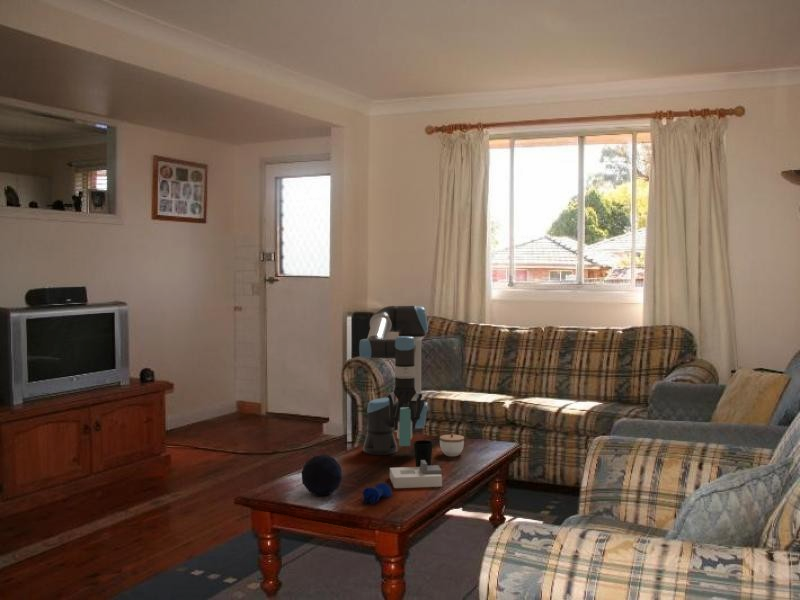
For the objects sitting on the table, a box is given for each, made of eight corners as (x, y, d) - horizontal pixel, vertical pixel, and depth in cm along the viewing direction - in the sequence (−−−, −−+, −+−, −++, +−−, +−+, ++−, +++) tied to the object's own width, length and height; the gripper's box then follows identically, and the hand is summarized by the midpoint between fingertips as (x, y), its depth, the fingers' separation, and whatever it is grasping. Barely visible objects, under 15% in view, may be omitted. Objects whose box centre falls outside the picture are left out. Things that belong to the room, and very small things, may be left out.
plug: (398, 443, 302) (398, 407, 301) (409, 443, 302) (409, 407, 302) (399, 446, 298) (400, 409, 297) (410, 445, 298) (410, 409, 298)
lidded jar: (463, 458, 338) (463, 436, 337) (438, 457, 339) (438, 435, 339) (464, 452, 348) (465, 431, 348) (440, 451, 350) (440, 430, 349)
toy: (377, 508, 272) (395, 494, 285) (376, 490, 271) (395, 478, 285) (359, 505, 275) (378, 492, 288) (359, 488, 274) (378, 475, 288)
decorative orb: (316, 470, 297) (304, 444, 288) (352, 474, 292) (341, 448, 283) (302, 501, 287) (289, 475, 278) (339, 506, 282) (327, 480, 273)
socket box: (389, 477, 307) (389, 467, 307) (435, 476, 309) (435, 466, 309) (394, 488, 293) (394, 477, 293) (441, 486, 295) (442, 476, 295)
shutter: (419, 468, 305) (419, 459, 304) (438, 468, 306) (438, 459, 305) (422, 473, 298) (422, 464, 297) (441, 473, 299) (441, 463, 298)
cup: (431, 475, 311) (431, 445, 310) (412, 473, 313) (412, 444, 312) (434, 469, 319) (434, 440, 318) (415, 468, 320) (415, 439, 319)
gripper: (383, 378, 294) (383, 440, 295) (428, 378, 296) (428, 439, 297) (381, 375, 302) (381, 436, 303) (425, 375, 304) (425, 435, 305)
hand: (404, 437), depth 300 cm, fingers closed on plug, 4 cm apart
